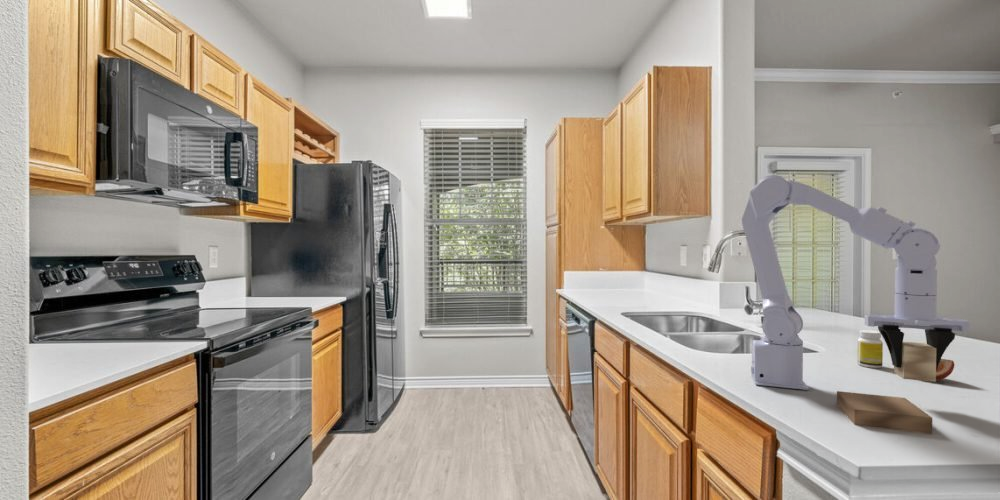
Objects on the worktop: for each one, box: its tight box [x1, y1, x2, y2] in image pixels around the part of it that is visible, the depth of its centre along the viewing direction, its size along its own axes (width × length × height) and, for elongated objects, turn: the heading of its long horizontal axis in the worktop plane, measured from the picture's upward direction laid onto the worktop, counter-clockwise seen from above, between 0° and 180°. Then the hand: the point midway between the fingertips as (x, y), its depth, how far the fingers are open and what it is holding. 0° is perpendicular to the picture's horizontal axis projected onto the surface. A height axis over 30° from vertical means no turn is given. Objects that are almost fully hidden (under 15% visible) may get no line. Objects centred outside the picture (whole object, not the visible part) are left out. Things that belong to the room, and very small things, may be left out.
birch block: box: [893, 341, 937, 383], centre depth 84 cm, size 4×4×6 cm
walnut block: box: [836, 390, 933, 435], centre depth 78 cm, size 10×10×3 cm
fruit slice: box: [936, 358, 955, 381], centre depth 101 cm, size 8×7×5 cm
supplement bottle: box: [857, 329, 884, 369], centre depth 111 cm, size 5×5×8 cm
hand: (914, 367), depth 84 cm, fingers closed on birch block, 4 cm apart
